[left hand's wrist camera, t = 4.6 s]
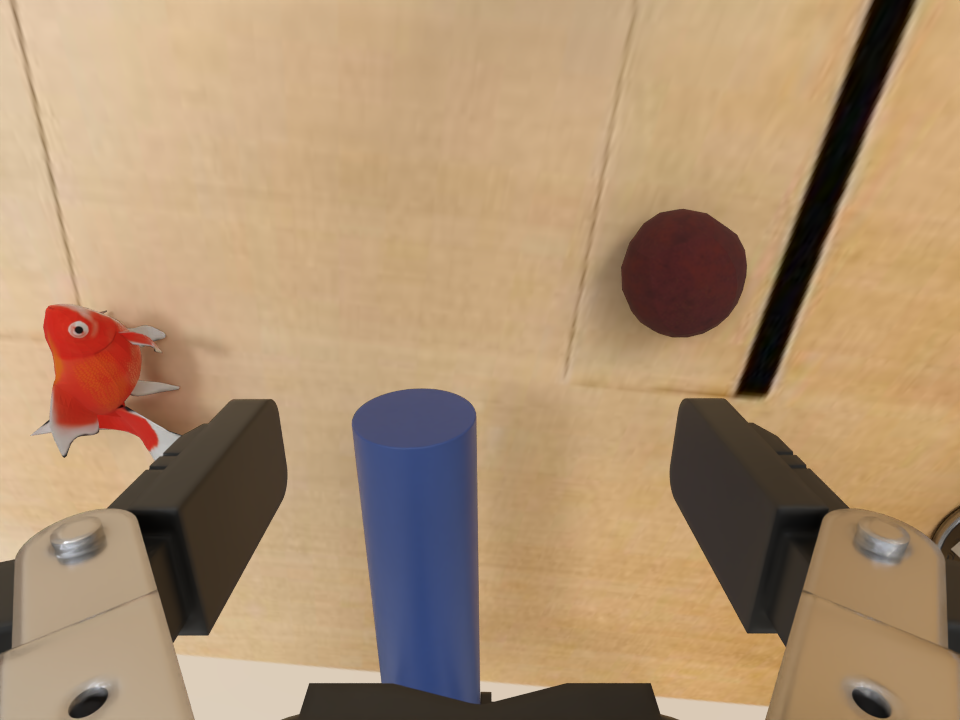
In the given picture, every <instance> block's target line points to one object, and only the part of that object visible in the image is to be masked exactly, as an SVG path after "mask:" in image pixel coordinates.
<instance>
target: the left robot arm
mask: <svg viewBox="0 0 960 720" xmlns="http://www.w3.org/2000/svg"><path fill="white" fill-rule="evenodd" d="M670 485H671V490H672V494H673V497H674V499H675V501H676V503H677V505H678V507H679V508H680V510H681V512H682V514H683V516H684V518H685V519H686V521H687V523H688V525H689V527H690V529H691V530H692V532H693V534H694V536H695V538H696V540H697V542H698V543H699V545H700V547H701V549H702V551H703V553H704V554H705V556H706V558H707V560H708V562H709V564H710V565H711V567H712V569H713V571H714V573H715V575H716V577H717V578H718V580H719V582H720V584H721V586H722V588H723V589H724V591H725V593H726V595H727V597H728V599H729V601H730V602H731V604H732V606H733V608H734V610H735V612H736V613H737V615H738V617H739V619H740V621H741V623H742V624H743V626H744V628H745V630H746V632H747V633H778V635H779V637H780V638H781V640H782V642H783V643H784V645H785V647H786V649H785V652H784V656H783V659H782V663H781V666H780V670H779V673H778V677H777V680H776V684H775V688H774V691H773V695H772V698H771V702H770V705H769V709H768V712H767V716H766V719H765V720H960V562H959V561H954V560H949V559H945V558H944V555H943V553H942V552H941V550H940V549H939V547H938V546H937V545H936V544H935V543H934V542H933V541H932V540H931V539H930V538H928V537H927V536H926V535H924V534H923V533H922V532H920V531H918V530H917V529H915V528H914V527H912V526H910V525H908V524H906V523H904V522H902V521H900V520H897V519H895V518H892V517H889V516H887V515H884V514H880V513H877V512H873V511H868V510H862V509H850V508H849V507H848V506H847V505H846V504H845V503H844V502H843V501H842V500H841V499H840V498H839V497H838V496H837V495H836V494H835V493H834V492H833V491H832V490H831V489H830V488H829V487H828V486H827V485H826V484H825V483H824V482H823V481H822V480H821V479H820V478H819V477H818V476H817V475H816V474H815V473H814V472H813V471H812V470H811V469H807V468H806V464H805V463H804V462H803V461H802V460H801V459H800V458H799V457H798V456H797V455H793V451H792V450H791V449H790V448H789V447H788V446H787V445H786V444H785V443H784V442H783V441H782V440H781V439H779V438H778V437H777V436H776V435H774V434H772V433H770V432H769V431H767V430H765V429H763V428H761V427H760V426H758V425H756V424H754V423H748V422H747V421H746V420H745V419H744V418H743V417H742V416H741V415H740V414H739V413H738V412H737V411H736V410H735V409H734V407H733V406H732V405H731V404H730V403H729V402H728V401H727V400H726V399H722V398H685V399H684V400H683V401H682V402H681V404H680V407H679V411H678V417H677V423H676V430H675V437H674V444H673V450H672V457H671V464H670ZM286 486H287V464H286V458H285V451H284V444H283V438H282V431H281V425H280V418H279V412H278V408H277V405H276V403H275V401H273V400H272V399H233V400H231V401H230V402H229V403H228V404H227V405H226V406H225V407H224V408H223V409H222V410H221V411H220V412H219V413H218V414H217V415H216V416H215V417H214V418H213V419H212V420H211V421H210V422H209V423H208V424H202V425H200V426H199V427H197V428H195V429H193V430H191V431H189V432H188V433H186V434H184V435H182V436H180V437H179V438H178V439H177V440H176V441H175V442H174V443H173V444H172V445H171V446H170V447H169V448H168V449H167V450H166V451H165V452H164V453H163V456H160V457H159V458H157V459H156V460H155V461H154V462H153V463H152V464H151V465H150V469H149V470H145V471H144V472H143V473H142V474H141V475H140V476H139V477H138V478H137V479H136V480H135V481H134V482H133V483H132V484H131V485H130V486H129V487H128V488H127V489H126V490H125V491H124V492H123V493H122V494H121V495H120V496H119V497H118V498H117V499H116V500H115V501H114V502H113V503H112V504H111V505H110V506H109V507H108V508H107V509H98V510H92V511H87V512H83V513H80V514H76V515H73V516H71V517H68V518H65V519H63V520H60V521H58V522H56V523H54V524H52V525H50V526H48V527H46V528H45V529H43V530H42V531H40V532H38V533H37V534H36V535H34V536H33V537H32V538H30V539H29V540H28V541H27V542H26V543H25V544H24V545H23V546H22V547H21V549H20V550H19V552H18V553H17V555H16V558H15V560H10V561H5V562H0V720H195V719H194V716H193V712H192V709H191V705H190V702H189V698H188V695H187V691H186V688H185V684H184V680H183V677H182V673H181V670H180V666H179V663H178V660H177V656H176V652H175V649H174V645H173V642H174V641H175V639H176V638H177V636H178V635H209V633H210V631H211V630H212V628H213V626H214V624H215V622H216V620H217V619H218V617H219V615H220V613H221V611H222V609H223V608H224V606H225V604H226V602H227V600H228V599H229V597H230V595H231V593H232V591H233V589H234V588H235V586H236V584H237V582H238V580H239V579H240V577H241V575H242V573H243V571H244V569H245V568H246V566H247V564H248V562H249V560H250V559H251V557H252V555H253V553H254V551H255V549H256V548H257V546H258V544H259V542H260V540H261V538H262V537H263V535H264V533H265V531H266V529H267V528H268V526H269V524H270V522H271V520H272V518H273V517H274V515H275V513H276V511H277V509H278V508H279V506H280V504H281V502H282V500H283V498H284V495H285V491H286ZM282 720H678V719H675V718H672V717H669V716H665V715H662V714H660V712H659V708H658V705H657V702H656V699H655V696H654V692H653V689H652V686H651V683H566V684H562V685H558V686H554V687H550V688H547V689H543V690H539V691H535V692H531V693H527V694H523V695H519V696H515V697H511V698H507V699H503V700H500V701H496V702H492V703H487V704H473V703H468V702H464V701H460V700H457V699H453V698H449V697H445V696H441V695H437V694H433V693H429V692H425V691H421V690H417V689H413V688H410V687H406V686H402V685H398V684H394V683H309V686H308V689H307V692H306V696H305V699H304V702H303V705H302V708H301V712H300V714H299V715H295V716H291V717H288V718H285V719H282Z"/></svg>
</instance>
